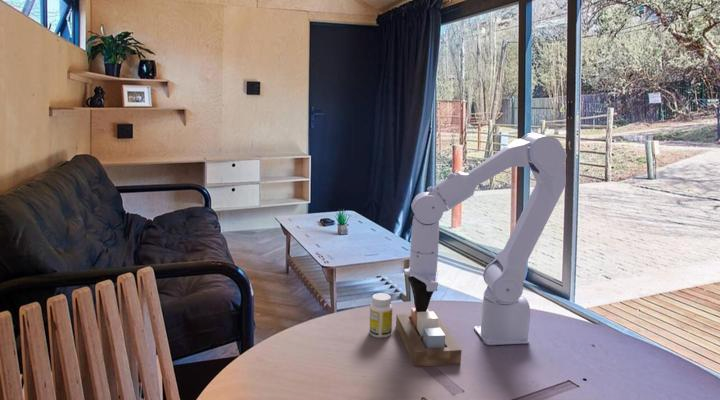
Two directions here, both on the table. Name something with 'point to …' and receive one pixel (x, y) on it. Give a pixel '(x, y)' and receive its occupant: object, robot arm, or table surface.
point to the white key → (426, 321)
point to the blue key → (433, 338)
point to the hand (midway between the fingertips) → (421, 310)
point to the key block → (418, 350)
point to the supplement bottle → (381, 315)
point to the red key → (414, 316)
